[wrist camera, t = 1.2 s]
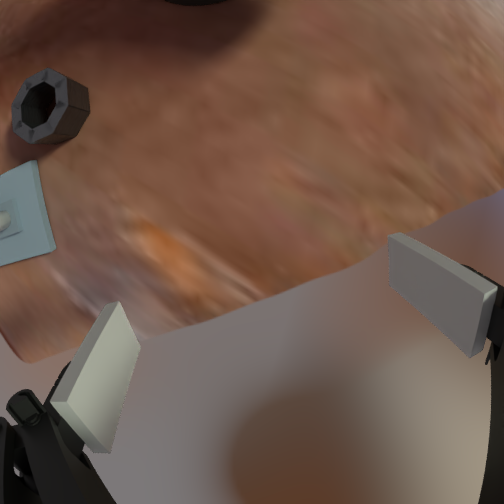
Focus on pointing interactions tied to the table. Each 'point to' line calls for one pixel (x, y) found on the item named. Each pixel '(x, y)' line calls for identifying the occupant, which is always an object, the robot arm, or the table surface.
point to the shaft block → (23, 215)
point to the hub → (37, 101)
